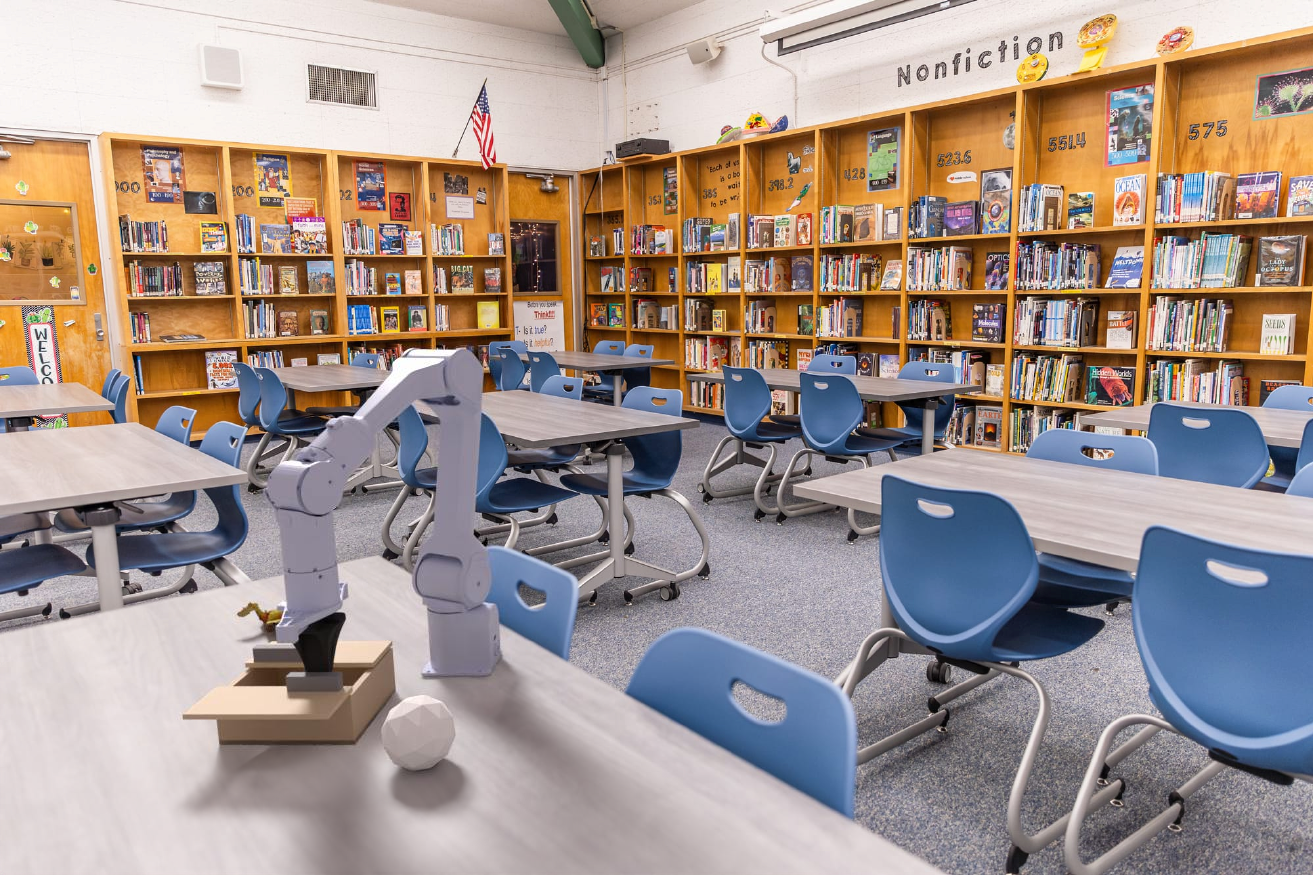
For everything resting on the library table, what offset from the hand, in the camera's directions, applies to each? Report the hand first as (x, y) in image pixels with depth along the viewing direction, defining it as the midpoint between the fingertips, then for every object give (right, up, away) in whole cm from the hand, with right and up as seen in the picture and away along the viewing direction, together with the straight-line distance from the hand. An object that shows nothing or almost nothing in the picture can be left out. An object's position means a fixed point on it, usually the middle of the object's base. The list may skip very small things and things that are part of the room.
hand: (320, 678), depth 101 cm
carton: (-4, -7, +7) cm, 10 cm away
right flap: (-4, 0, +9) cm, 10 cm away
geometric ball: (+13, -8, -5) cm, 16 cm away
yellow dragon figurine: (-21, -2, +37) cm, 42 cm away
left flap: (-4, -2, -4) cm, 6 cm away
